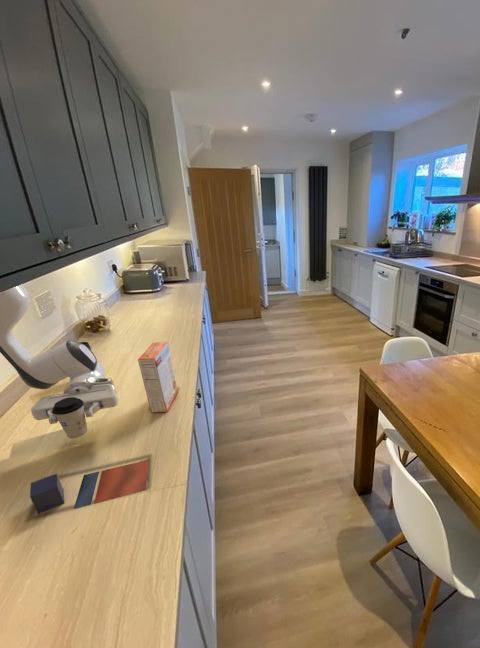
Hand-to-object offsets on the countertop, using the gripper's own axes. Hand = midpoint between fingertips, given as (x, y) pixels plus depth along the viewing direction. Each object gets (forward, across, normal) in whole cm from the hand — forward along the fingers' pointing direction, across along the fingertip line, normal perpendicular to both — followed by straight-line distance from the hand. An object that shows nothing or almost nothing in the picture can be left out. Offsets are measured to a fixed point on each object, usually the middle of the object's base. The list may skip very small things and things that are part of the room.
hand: (71, 418), depth 85 cm
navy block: (+15, -4, +14) cm, 20 cm away
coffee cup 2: (-53, -9, +14) cm, 56 cm away
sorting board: (+13, +5, +14) cm, 20 cm away
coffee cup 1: (-1, 0, +6) cm, 6 cm away
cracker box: (-23, +21, +14) cm, 34 cm away
